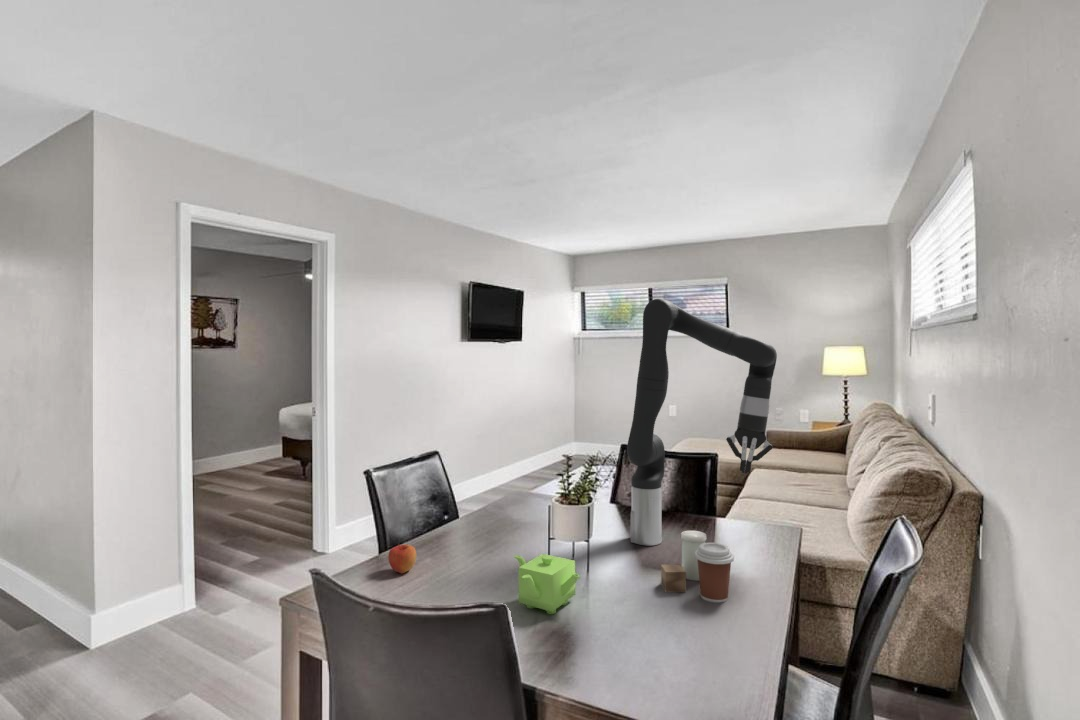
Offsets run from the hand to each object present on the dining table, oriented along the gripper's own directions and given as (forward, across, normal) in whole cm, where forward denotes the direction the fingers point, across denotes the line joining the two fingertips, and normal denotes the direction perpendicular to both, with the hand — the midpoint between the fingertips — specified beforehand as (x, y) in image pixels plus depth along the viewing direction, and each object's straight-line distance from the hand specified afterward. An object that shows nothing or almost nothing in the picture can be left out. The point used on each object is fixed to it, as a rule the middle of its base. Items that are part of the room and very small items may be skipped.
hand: (744, 473), depth 161 cm
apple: (+38, -81, -40) cm, 98 cm away
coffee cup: (+26, -2, -27) cm, 38 cm away
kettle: (+32, -39, -46) cm, 68 cm away
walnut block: (+28, -12, -25) cm, 39 cm away
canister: (+27, -8, -16) cm, 32 cm away
